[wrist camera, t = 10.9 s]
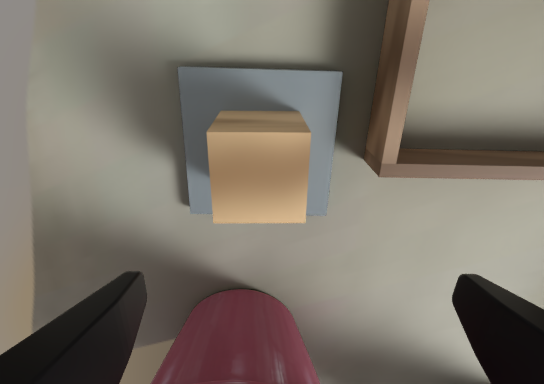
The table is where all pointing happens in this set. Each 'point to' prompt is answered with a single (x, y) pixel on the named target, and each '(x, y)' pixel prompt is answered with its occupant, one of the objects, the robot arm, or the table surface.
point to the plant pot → (238, 344)
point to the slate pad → (258, 97)
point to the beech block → (259, 166)
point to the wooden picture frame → (393, 107)
